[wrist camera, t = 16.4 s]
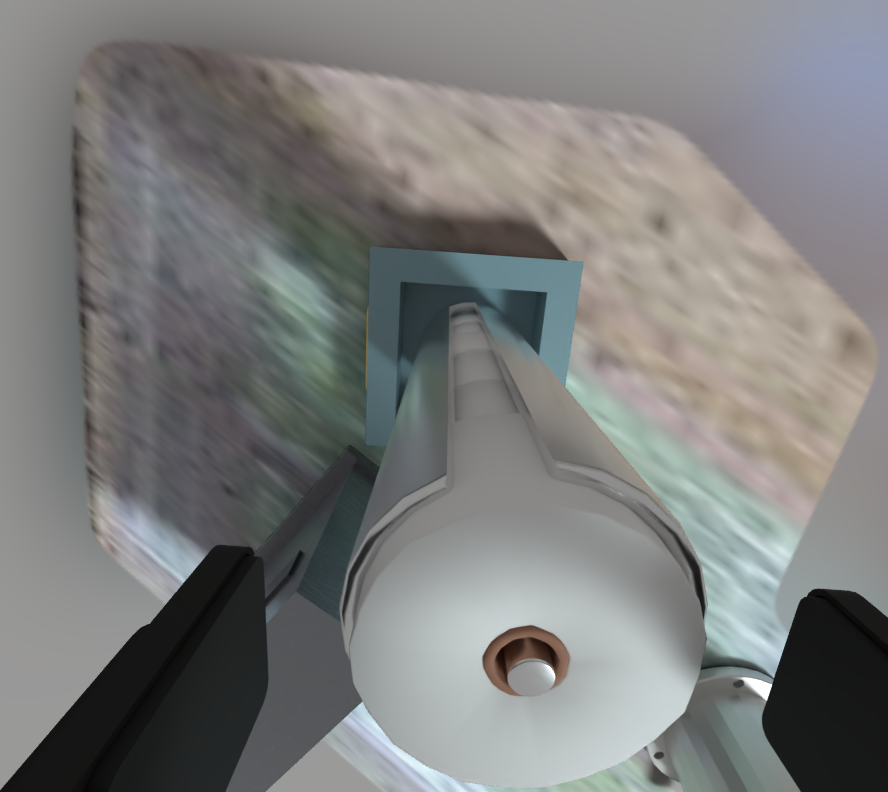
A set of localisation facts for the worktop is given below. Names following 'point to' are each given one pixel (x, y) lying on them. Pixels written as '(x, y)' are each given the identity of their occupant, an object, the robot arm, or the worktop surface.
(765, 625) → the worktop surface
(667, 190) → the worktop surface
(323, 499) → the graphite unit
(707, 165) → the worktop surface
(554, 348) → the socket block
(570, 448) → the white tall cylinder
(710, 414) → the worktop surface
